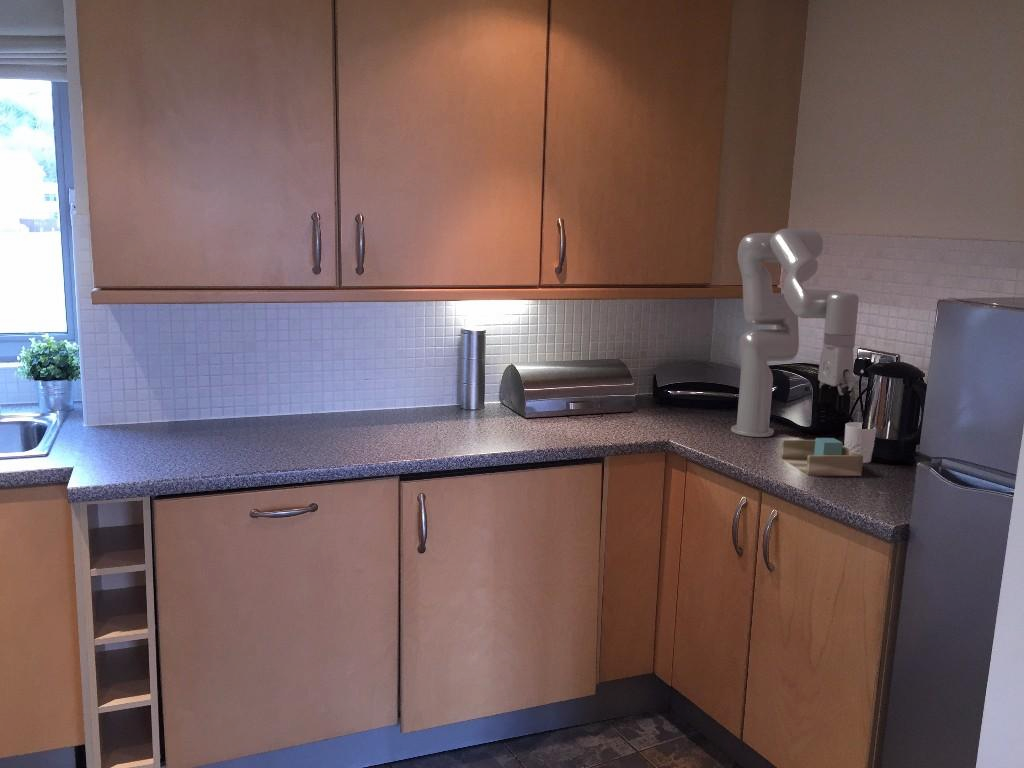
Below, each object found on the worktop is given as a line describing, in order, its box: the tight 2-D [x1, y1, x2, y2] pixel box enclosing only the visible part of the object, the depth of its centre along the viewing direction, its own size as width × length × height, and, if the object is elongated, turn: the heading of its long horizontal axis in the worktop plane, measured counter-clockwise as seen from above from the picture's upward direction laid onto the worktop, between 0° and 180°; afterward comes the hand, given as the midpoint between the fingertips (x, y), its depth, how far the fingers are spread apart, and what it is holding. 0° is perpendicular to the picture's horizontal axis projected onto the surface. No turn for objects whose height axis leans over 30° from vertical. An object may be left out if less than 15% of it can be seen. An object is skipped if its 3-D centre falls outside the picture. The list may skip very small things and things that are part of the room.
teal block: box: [814, 437, 844, 455], centre depth 229 cm, size 5×5×7 cm
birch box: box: [780, 439, 864, 477], centre depth 229 cm, size 17×14×6 cm
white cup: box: [843, 421, 877, 464], centre depth 237 cm, size 8×8×10 cm
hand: (833, 406), depth 227 cm, fingers open, 9 cm apart
